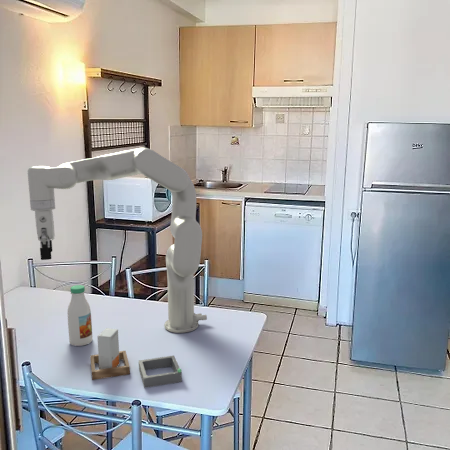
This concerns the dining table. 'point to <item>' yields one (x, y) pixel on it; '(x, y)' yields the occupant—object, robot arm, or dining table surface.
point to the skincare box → (108, 348)
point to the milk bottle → (79, 317)
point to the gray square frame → (160, 378)
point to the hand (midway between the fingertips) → (46, 255)
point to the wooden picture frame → (110, 371)
